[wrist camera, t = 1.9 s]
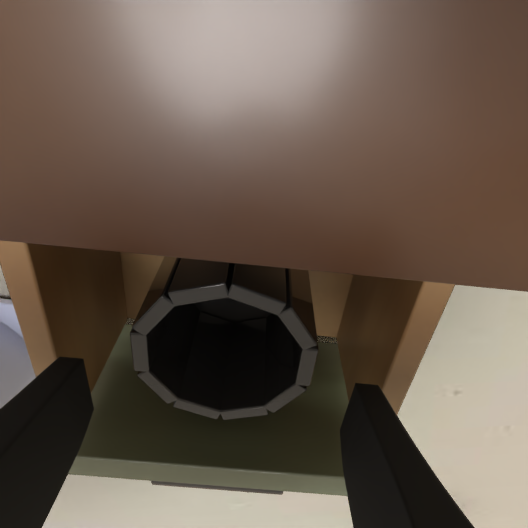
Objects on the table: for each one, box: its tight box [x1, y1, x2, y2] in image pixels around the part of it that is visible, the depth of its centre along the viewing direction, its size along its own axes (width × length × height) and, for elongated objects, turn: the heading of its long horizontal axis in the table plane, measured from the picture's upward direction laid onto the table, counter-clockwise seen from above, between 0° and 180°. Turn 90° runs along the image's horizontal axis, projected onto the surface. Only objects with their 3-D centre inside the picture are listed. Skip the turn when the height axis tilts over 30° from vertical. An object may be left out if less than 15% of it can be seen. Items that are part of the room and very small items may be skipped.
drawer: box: [0, 240, 455, 496], centre depth 14 cm, size 18×12×7 cm
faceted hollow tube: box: [130, 256, 319, 420], centre depth 14 cm, size 6×6×5 cm
